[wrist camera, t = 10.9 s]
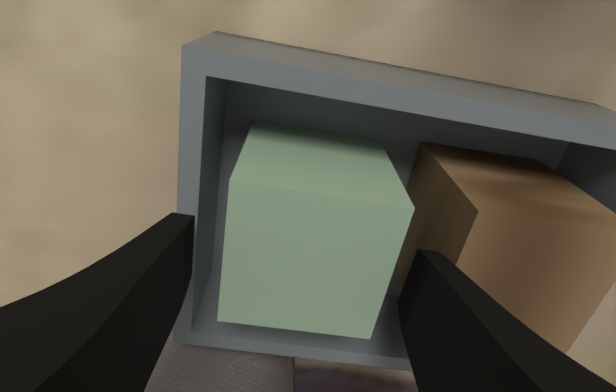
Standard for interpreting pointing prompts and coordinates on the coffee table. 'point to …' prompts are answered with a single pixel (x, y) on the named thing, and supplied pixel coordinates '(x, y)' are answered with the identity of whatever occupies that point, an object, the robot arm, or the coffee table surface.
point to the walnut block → (514, 235)
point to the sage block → (311, 231)
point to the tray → (358, 122)
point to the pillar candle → (219, 370)
